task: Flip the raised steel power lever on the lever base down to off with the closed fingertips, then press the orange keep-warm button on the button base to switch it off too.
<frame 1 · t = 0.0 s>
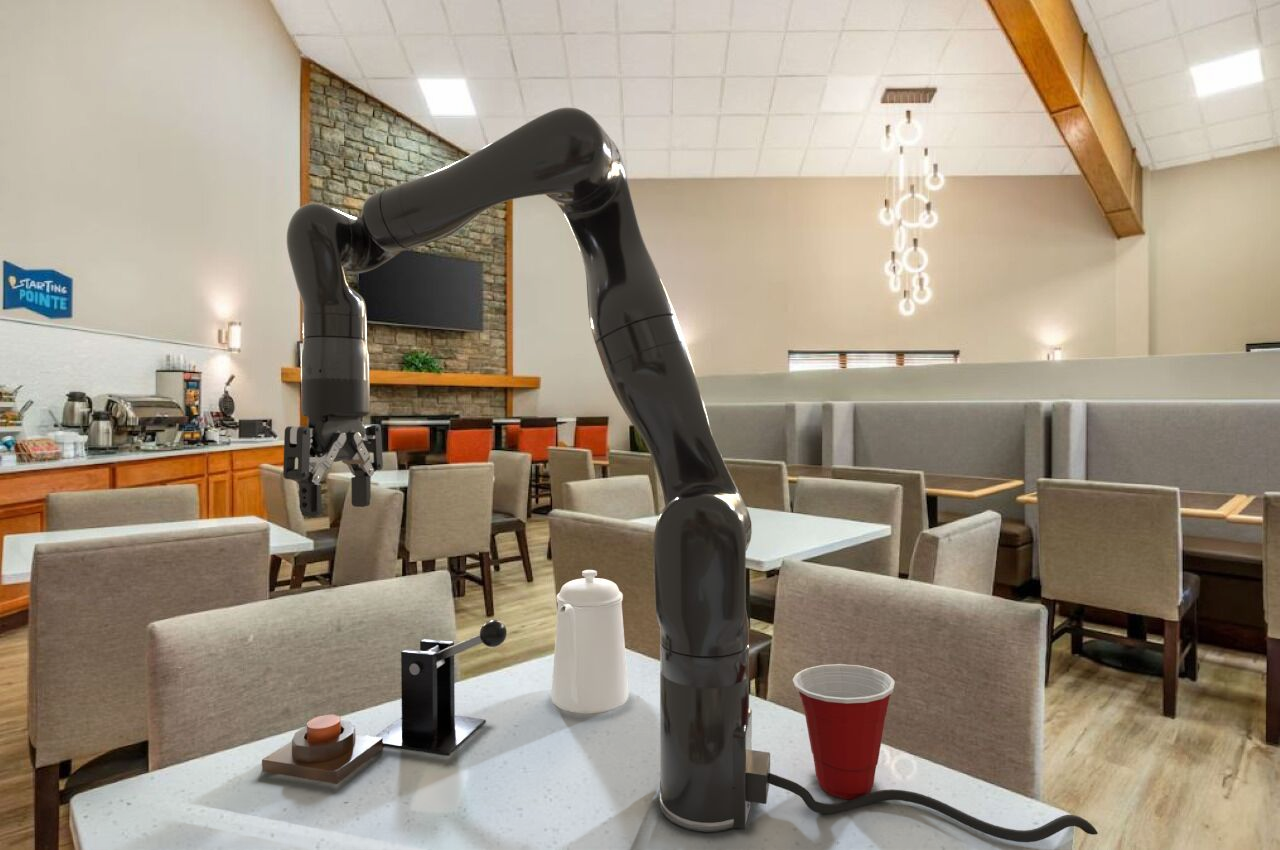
hand: (337, 510, 82), 29 cm above the table, tool pointing down, fingers open, 8 cm apart
power lever: (460, 647, 83), point 12 cm above the table, hinge at 25.0°
lever base: (429, 739, 85), on the table
warm button: (324, 728, 78), point 4 cm above the table, slide at 0.1 cm
plastic cup: (842, 786, 74), on the table
button base: (324, 766, 78), on the table
coffeepot: (589, 705, 95), on the table
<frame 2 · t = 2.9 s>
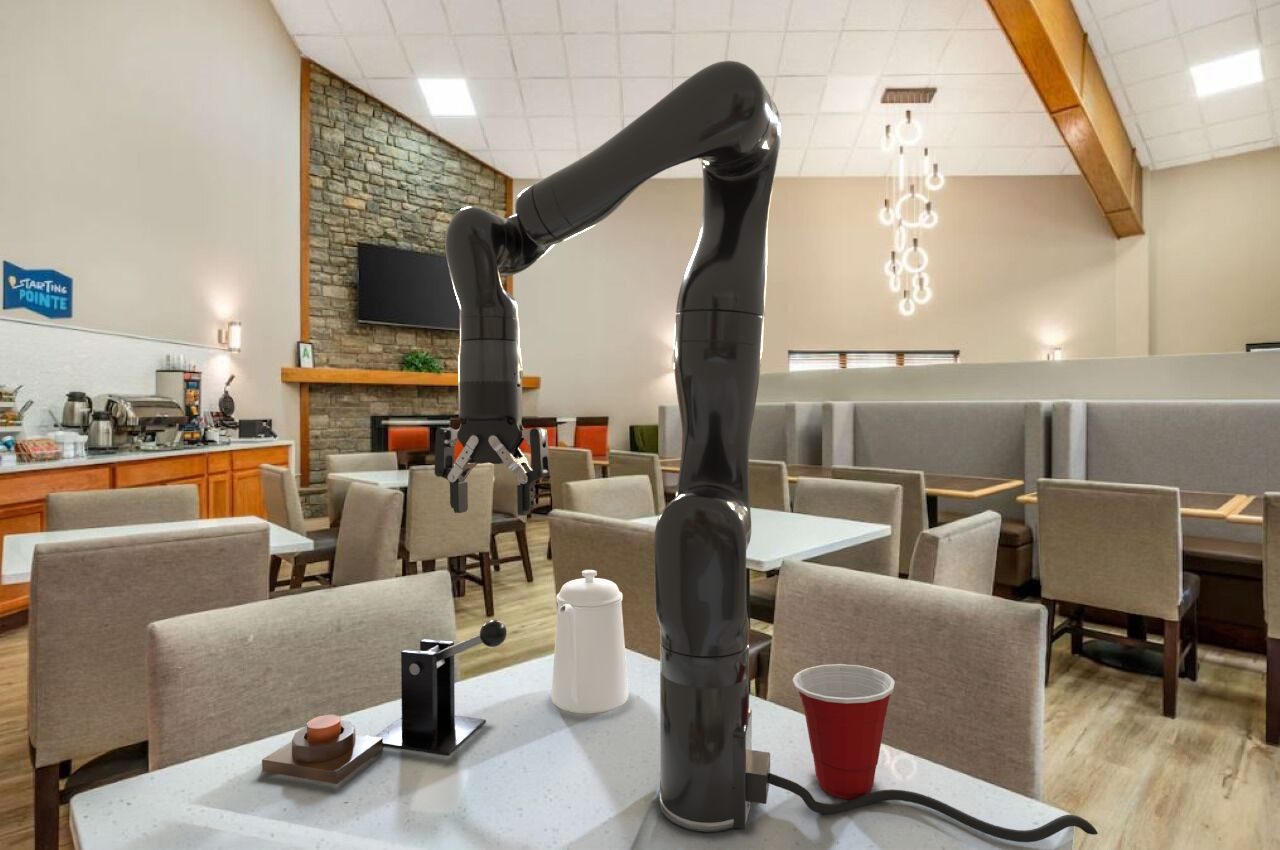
hand: (492, 513, 82), 29 cm above the table, tool pointing down, fingers open, 8 cm apart
nothing on the table moved.
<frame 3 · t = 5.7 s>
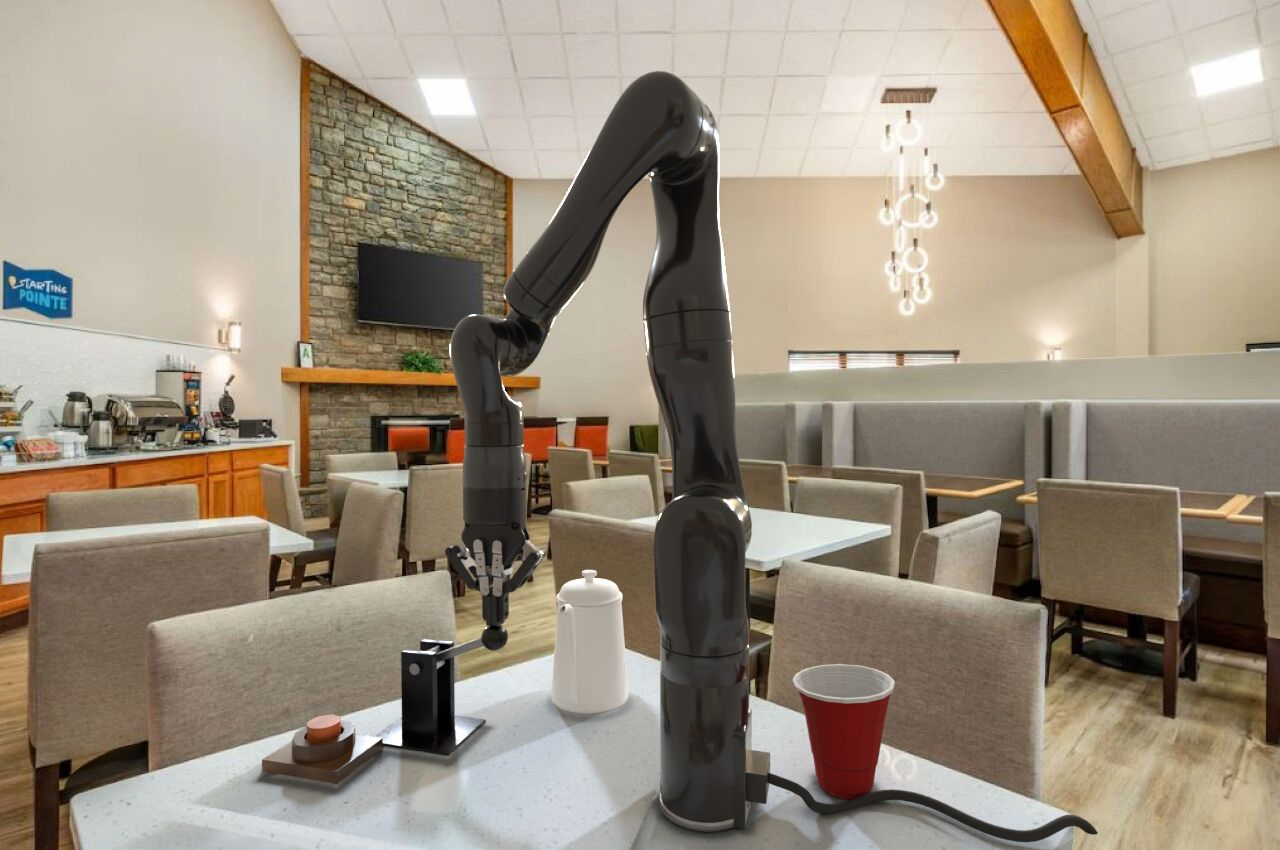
hand: (495, 624, 82), 15 cm above the table, tool pointing down, fingers closed
power lever: (461, 648, 83), point 12 cm above the table, hinge at 22.1°, touching gripper
everything else where it was.
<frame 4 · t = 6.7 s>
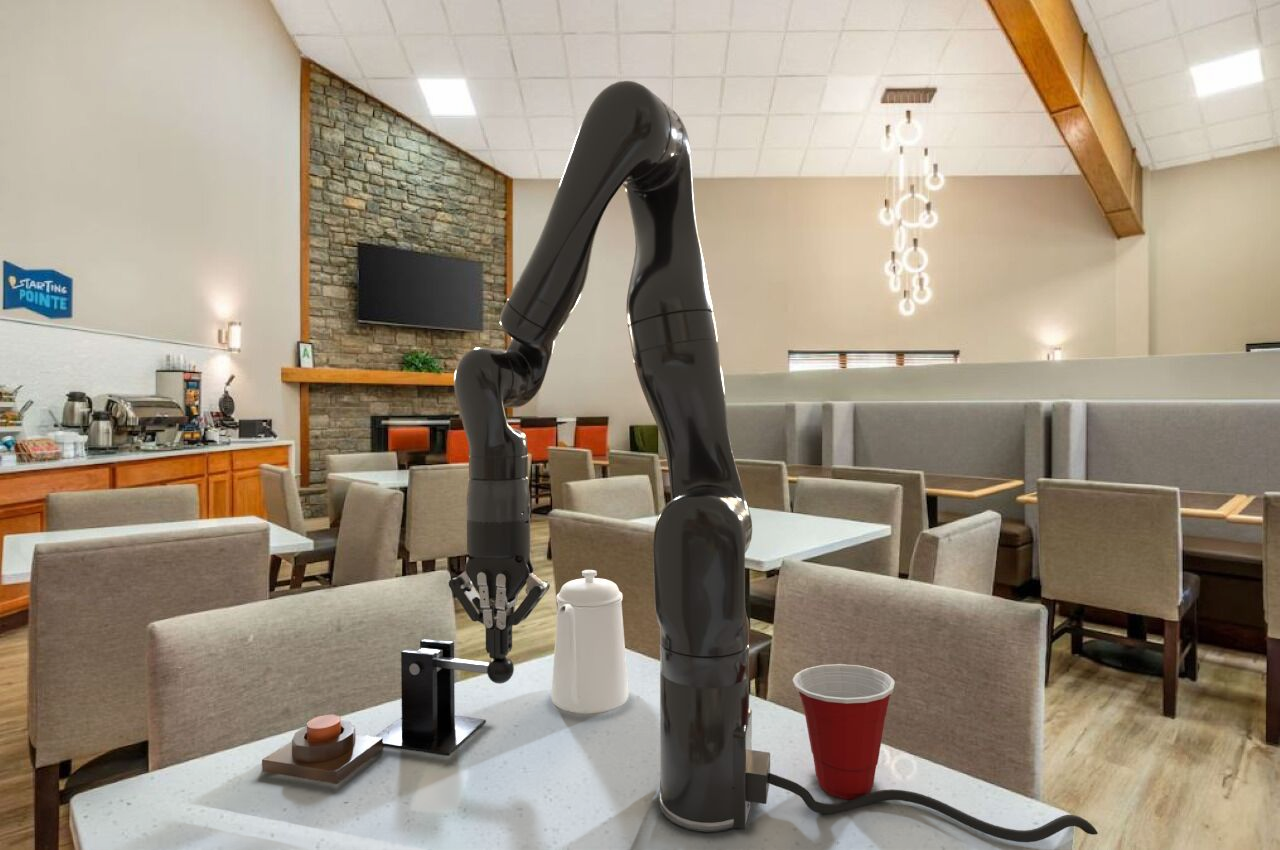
hand: (499, 656, 82), 11 cm above the table, tool pointing down, fingers closed
power lever: (464, 665, 83), point 10 cm above the table, hinge at -0.7°, touching gripper
everything else where it was.
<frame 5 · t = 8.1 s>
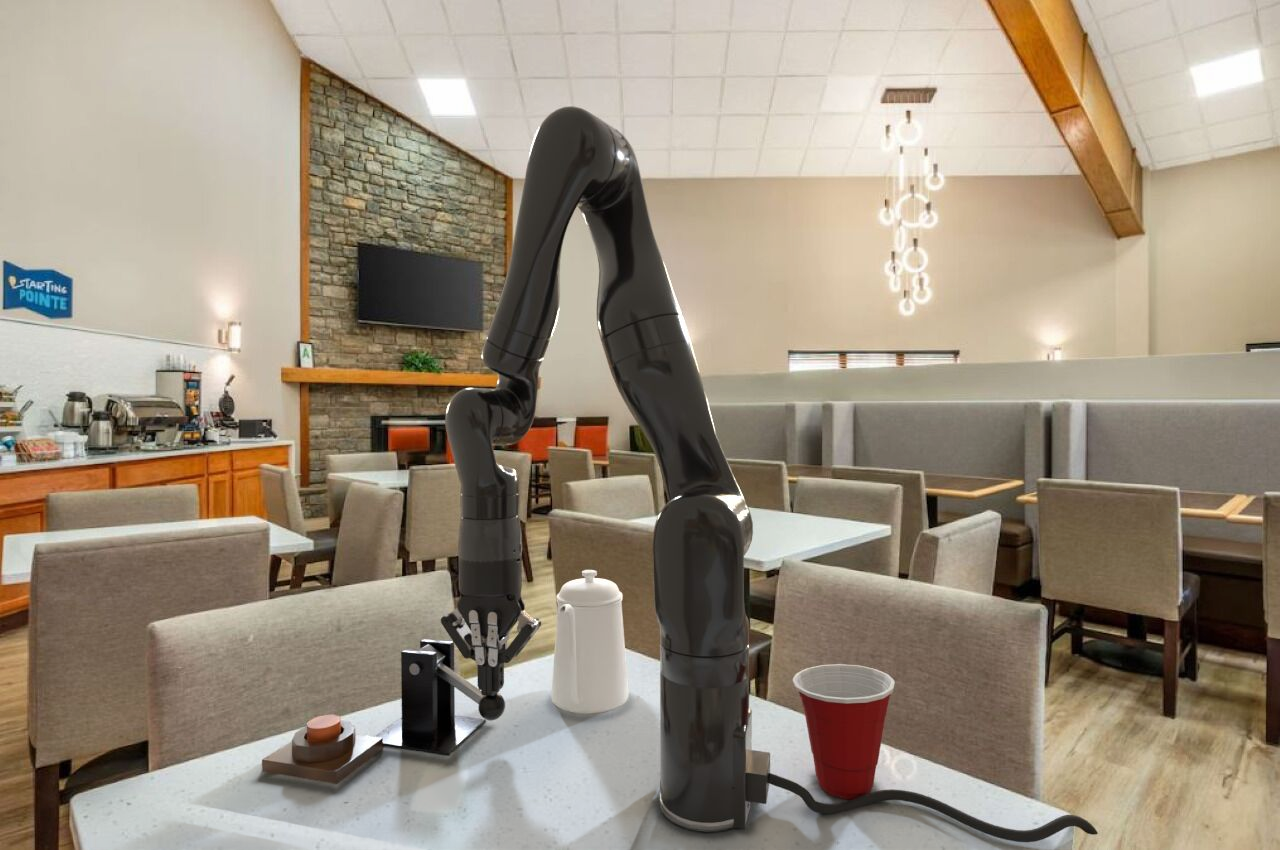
hand: (491, 693, 82), 7 cm above the table, tool pointing down, fingers closed
power lever: (460, 683, 83), point 8 cm above the table, hinge at -28.4°, touching gripper
everything else where it was.
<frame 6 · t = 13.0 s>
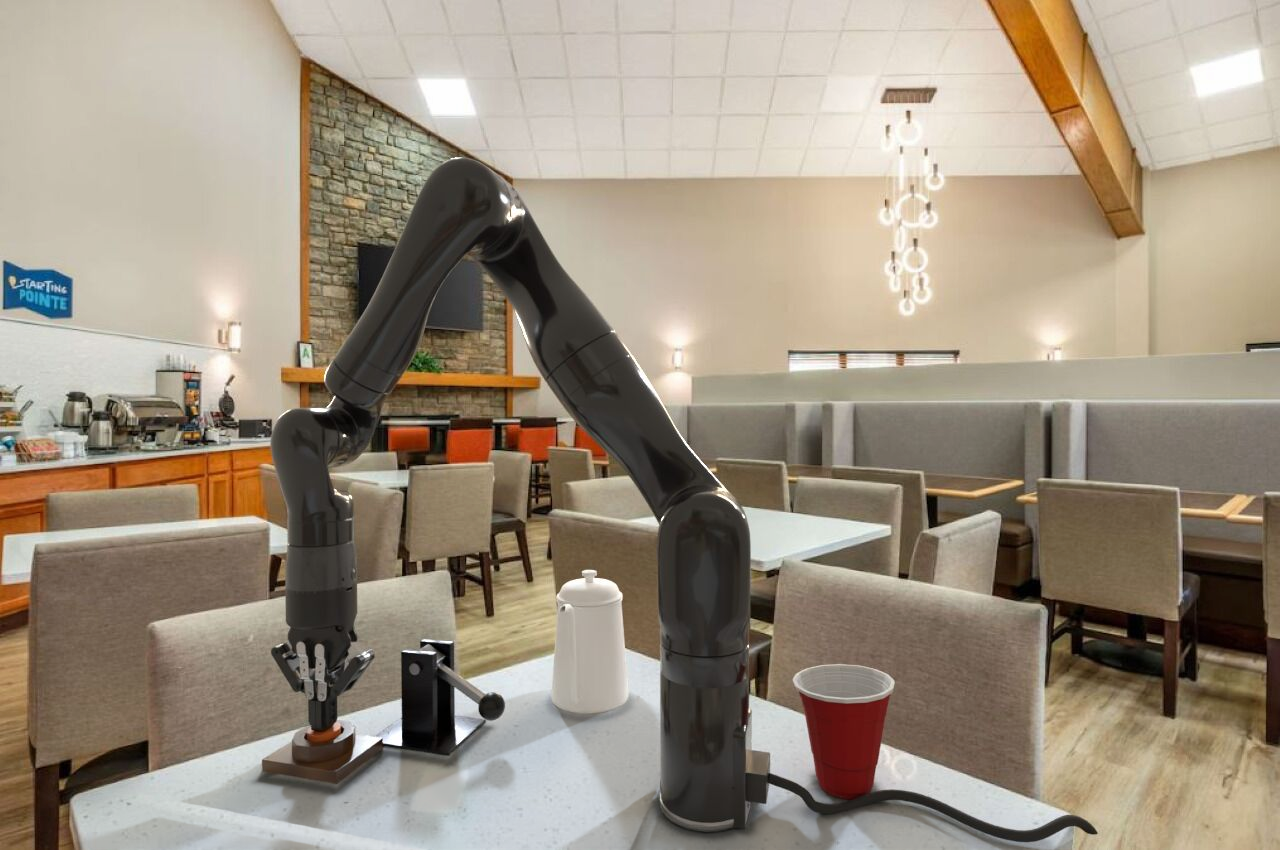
hand: (323, 728, 78), 5 cm above the table, tool pointing down, fingers closed
power lever: (460, 683, 83), point 8 cm above the table, hinge at -28.6°
warm button: (324, 735, 78), point 4 cm above the table, slide at -0.7 cm, touching gripper
everything else where it was.
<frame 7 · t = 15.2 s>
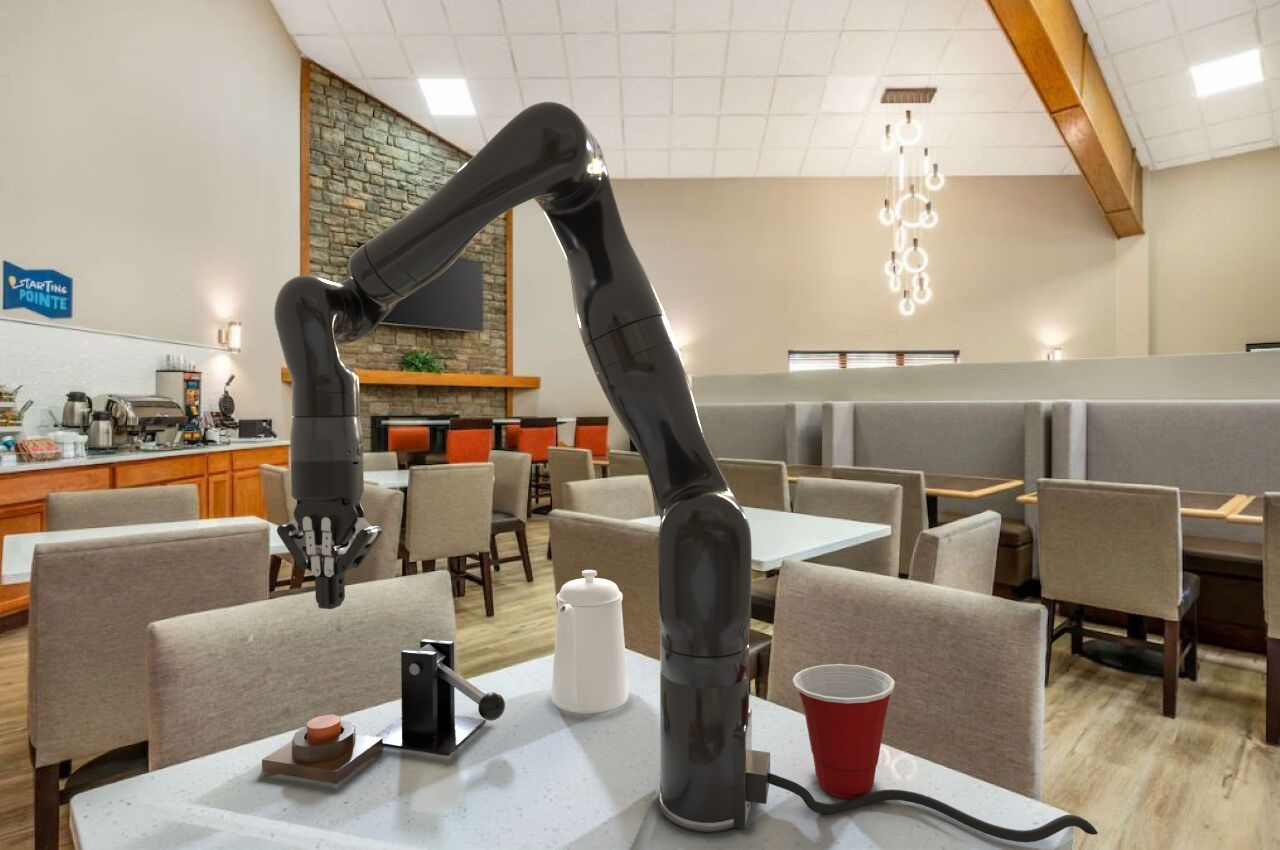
hand: (330, 606, 77), 19 cm above the table, tool pointing down, fingers closed
warm button: (324, 728, 78), point 4 cm above the table, slide at 0.1 cm
everything else where it was.
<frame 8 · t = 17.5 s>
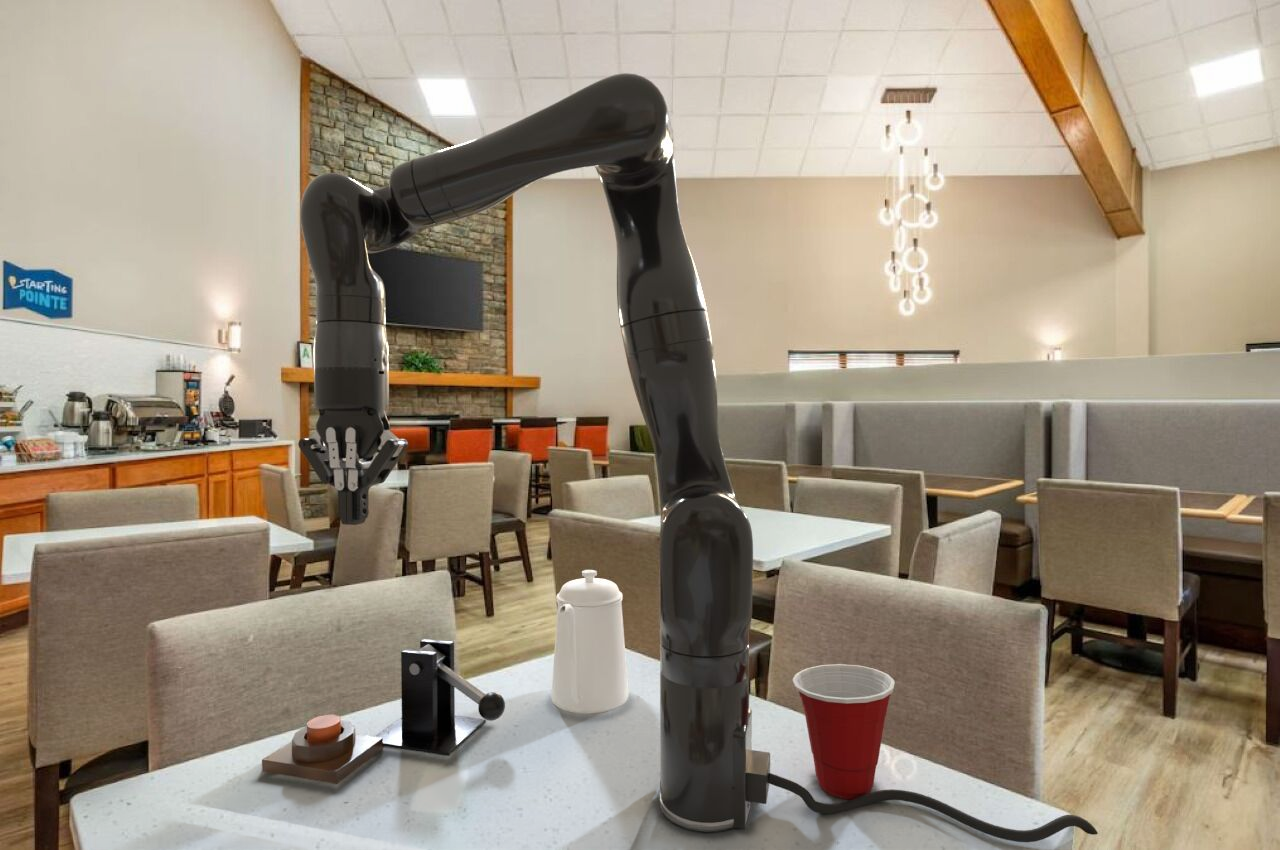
hand: (353, 523, 74), 29 cm above the table, tool pointing down, fingers closed
nothing on the table moved.
at the end: power lever at -29° (first picture: +25°); warm button pushed in 1.1 cm at the most during the clip and back out by the end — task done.
